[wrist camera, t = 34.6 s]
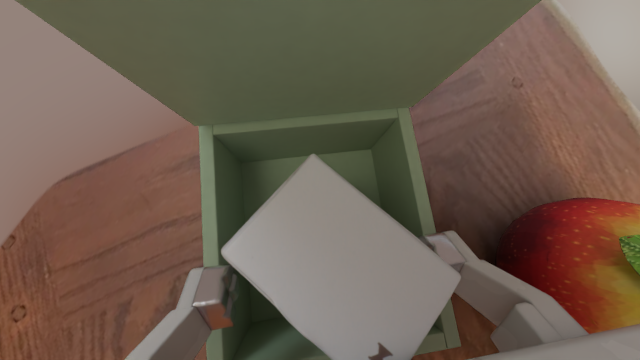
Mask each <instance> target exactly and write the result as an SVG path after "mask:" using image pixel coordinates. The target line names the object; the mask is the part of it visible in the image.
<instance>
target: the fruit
mask: <svg viewBox="0 0 640 360" xmlns="http://www.w3.org/2000/svg"><path fill="white" fill-rule="evenodd" d="M496 267H497V268H499V269H501V270H503V271H505V272H507V273H509V274H510V275H512V276H514V277H516V278H518V279H520V280H522V281H523V282H525V283H527V284H529V285H531V286H533V287H535V288H536V289H538V290H540V291H542V292H544V293H546V294H548V295H549V296H551V297H552V298H553V299H554V300H555V301H556V302H557V303H558V304H559V305H560V306H561V307H562V308H563V309H564V310H565V311H566V312H567V313H568V314H569V315H570V316H571V317H572V318H573V319H574V320H575V321H576V322H577V323H578V324H579V325H580V326H582V327H583V328H584V329H585V330H586V331H587V332H588V333H589V334H592V333H597V332H602V331H607V330H612V329H616V328H621V327H626V326H631V325H636V324H640V205H639V204H633V203H628V202H621V201H614V200H607V199H598V198H573V199H567V200H562V201H557V202H552V203H547V204H543V205H540V206H537V207H535V208H533V209H531V210H530V211H528V212H526V213H525V214H523V215H522V216H520V217H519V218H517V219H516V220H514V221H513V222H512V223H511V224H510V226H509V227H508V228H507V230H506V231H505V233H504V234H503V235H502V237H501V238H500V242H499V245H498V249H497V253H496Z"/></svg>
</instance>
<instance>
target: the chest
mask: <svg viewBox="0 0 640 360" xmlns="http://www.w3.org/2000/svg"><path fill="white" fill-rule="evenodd" d="M199 149H200V177H201V206H202V234H203V263H204V267H208V266H216V265H224V264H229V263H228V262H227V261H226V260H225V259H224V258H223V256H222V254H221V249H222V248H223V246H224V245H225V244H226V243H227V242H228V241H229V240H230V239H231V238H232V237H233V236H234V235H235V234H236V233H237V232H238V230H239V229H240V228H241V227H242V226H243V225H244V224H245V223H246V222H247V221H248V220H249V219H250V218H251V217H252V215H253V214H254V213H255V212H256V211H257V210H258V209H259V208H260V207H261V206H262V205H263V204H264V203H265V202H266V201H267V200H268V199H269V198H270V197H271V196H272V194H273V193H274V192H275V191H276V190H277V189H278V188H279V187H280V186H281V185H282V184H283V183H284V182H285V181H286V180H287V179H288V178H289V177H290V176H291V174H292V173H293V172H294V171H295V170H296V169H297V168H298V167H299V166H300V165H301V164H302V163H303V162H304V161H305V160H306V159H307V158H308V157H309V156H310V155H311V154H315V155H317V156H318V157H319V158H320V159H321V160H322V161H324V162H325V163H326V164H327V165H328V166H329V167H331V168H332V169H333V170H334V171H336V172H337V173H338V174H339V175H341V176H342V177H343V178H344V179H345V180H347V181H348V182H349V183H350V184H351V185H353V186H354V187H355V188H356V189H357V190H359V191H360V192H361V193H362V194H364V195H365V196H366V197H367V198H368V199H370V200H371V201H372V202H373V203H375V204H376V205H377V206H378V207H380V208H381V209H382V210H383V211H385V212H386V213H387V214H389V215H390V216H391V217H392V218H394V219H395V220H396V221H397V222H399V223H400V224H401V225H402V226H404V227H405V228H406V229H407V230H408V231H410V232H411V233H412V234H413V235H414V236H416V237H417V238H418V237H419V236H420V235H425V234H431V233H436V229H435V225H434V220H433V216H432V211H431V207H430V202H429V198H428V193H427V189H426V184H425V180H424V175H423V171H422V166H421V161H420V157H419V152H418V148H417V143H416V139H415V134H414V130H413V125H412V121H411V116H410V112H409V107H404V108H393V109H381V110H370V111H359V112H348V113H337V114H325V115H314V116H303V117H292V118H280V119H269V120H258V121H247V122H236V123H224V124H213V125H202V126H199ZM233 273H234V274H236V275H237V277H238V281H239V295H238V299H237V300H236V301H235V303H234V305H235V307H236V315H235V322H234V326H232V327H227V328H222V329H217V330H212V332H211V334H210V335H209V337H208V338H207V340H206V349H207V360H331V359H330V358H329V357H328V356H327V355H326V354H325V353H324V352H323V351H322V350H321V349H319V348H318V347H317V346H316V345H315V344H314V343H313V342H311V341H310V340H308V339H307V338H305V337H304V336H303V335H302V334H301V333H300V332H299V331H298V330H296V329H295V328H294V327H293V326H292V325H291V324H290V323H289V322H288V320H287V319H286V318H285V317H284V316H283V315H282V314H281V312H280V311H279V310H278V309H277V308H276V307H275V306H274V305H273V304H272V303H271V302H270V301H269V300H268V299H267V298H266V297H265V296H264V295H263V294H262V293H260V292H259V291H258V290H257V289H256V288H255V287H254V286H253V285H252V284H251V283H250V282H249V281H248V280H247V279H246V278H244V277H243V276H242V275H241V274H240V273H239V272H238V271H237V270H236V269H235V268H234V271H233ZM460 346H461V343H460V338H459V334H458V329H457V325H456V320H455V315H454V311H453V306H452V302H451V297H450V299H449V300H448V302H447V304H446V305H445V307H444V309H443V310H442V312H441V313H440V315H439V316H438V318H437V319H436V321H435V323H434V324H433V326H432V327H431V329H430V331H429V332H428V334H427V335H426V337H425V338H424V340H423V341H422V343H421V345H420V346H419V348H418V349H417V351H416V353H415V354H414V355H419V354H425V353H430V352H435V351H440V350H445V349H446V348H447V349H450V348H455V347H460Z"/></svg>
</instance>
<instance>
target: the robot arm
mask: <svg viewBox="0 0 640 360" xmlns="http://www.w3.org/2000/svg"><path fill="white" fill-rule="evenodd" d="M418 239H419V240H420V241H422V242H423V243H424V244H425V245H426V246H427V247H429V248H430V249H431V250H432V251H433V252H435V253H436V254H437V255H438V256H439V257H441V258H442V259H443V260H444V261H445V262H446V263H448V264H449V265H450V266H451V267H452V268H453V269H455V270H456V271H457V272H458V273H459V274H460V276H461V280H460V281H459V283H458V285H457V287H456V288H455V290H454V293H456V294H457V295H458V296H459V297H461V298H462V299H463V300H464V301H466V302H467V303H468V304H469V305H471V306H472V307H473V308H475V309H476V310H477V311H478V312H480V313H481V314H482V315H483V316H485V317H486V318H487V319H488V320H490V321H491V322H492V323H493V324H495V325H496V326H497V328H496V329H495V330H494V331H493V333H492V334H491V340H492V341H493V343H494V344H495V346H496V347H497V349H498V350H499V352H500V353H495V354H491V355H486V356H481V357H476V358H471V359H466V360H640V324H636V325H631V326H626V327H621V328H616V329H612V330H607V331H602V332H597V333H592V334H589V333H588V332H587V331H586V330H585V329H584V328H583V327H582V326H580V325H579V324H578V323H577V322H576V321H575V320H574V319H573V318H572V317H571V316H570V315H569V314H568V313H567V312H566V311H565V310H564V309H563V308H562V307H561V306H560V305H559V304H558V303H557V302H556V301H555V300H554V299H553V298H552V297H551V296H549V295H548V294H546V293H544V292H542V291H540V290H538V289H536V288H535V287H533V286H531V285H529V284H527V283H525V282H523V281H522V280H520V279H518V278H516V277H514V276H512V275H510V274H509V273H507V272H505V271H503V270H501V269H499V268H497V267H496V266H494V265H492V264H490V263H488V262H486V261H484V260H479V259H478V258H477V256H476V255H475V254H474V253H473V252H472V251H471V249H470V248H469V247H468V246H467V245H466V244H465V242H464V241H463V240H462V239H461V238H460V237H459V236H458V234H457V233H456V232H454V231H453V230H452V231H445V232H437V233H431V234H425V235H420V236H419V237H418ZM233 271H234V267H233V266H232V265H230V264H224V265H216V266H208V267H200V268H193V269H192V270H191V271H190V272H189V274H188V277H187V280H186V283H185V285H184V288H183V291H182V293H181V296H180V299H179V302H178V304H177V307H176V310H171V311H170V312H169V314H168V315H167V316H166V317H165V318H164V319H163V320H162V321H161V322H160V323H159V324H158V325H157V326H156V327H155V328H154V329H153V330H152V331H151V332H150V333H149V334H148V335H147V336H146V337H145V339H144V340H143V341H142V342H141V343H140V344H139V345H138V346H137V347H136V348H135V349H134V350H133V351H132V352H131V353H130V354H129V355H128V356H127V357H126V358H125V359H124V360H194V358H195V357H196V355H197V354H198V352H199V351H200V349H201V348H202V346H203V345H204V343H205V342H206V340H207V338H208V337H209V335H210V334H211V332H212V330H217V329H222V328H227V327H232V326H234V322H235V315H236V307H235V305H234V303H235V301H236V300H237V299H238V295H239V281H238V277H237V275H236V274H234V273H233Z"/></svg>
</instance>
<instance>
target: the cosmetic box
mask: <svg viewBox="0 0 640 360" xmlns="http://www.w3.org/2000/svg"><path fill="white" fill-rule="evenodd" d="M221 254H222V256H223V258H224V259H225V260H226V261H227V262H228V263H229V264H230V265H232V266H233V267H234V268H235V269H236V270H237V271H238V272H239V273H240V274H241V275H242V276H243V277H244V278H246V279H247V280H248V281H249V282H250V283H251V284H252V285H253V286H254V287H255V288H256V289H257V290H258V291H259V292H260V293H262V294H263V295H264V296H265V297H266V298H267V299H268V300H269V301H270V302H271V303H272V304H273V305H274V306H275V307H276V308H277V309H278V310H279V311H280V312H281V314H282V315H283V316H284V317H285V318H286V319H287V320H288V322H289V323H290V324H291V325H292V326H293V327H294V328H295V329H296V330H298V331H299V332H300V333H301V334H302V335H303V336H304V337H305V338H307V339H308V340H310V341H311V342H313V343H314V344H315V345H316V346H317V347H318V348H319V349H321V350H322V351H323V352H324V353H325V354H326V355H327V356H328V357H329V358H330V359H331V360H411V359H412V357H413V356H414V354H415V353H416V351H417V349H418V348H419V346H420V345H421V343H422V341H423V340H424V338H425V337H426V335H427V334H428V332H429V331H430V329H431V327H432V326H433V324H434V323H435V321H436V319H437V318H438V316H439V315H440V313H441V312H442V310H443V309H444V307H445V305H446V304H447V302H448V300H449V299H450V297H451V295H452V294H453V292H454V290H455V288H456V287H457V285H458V283H459V281H460V280H461V276H460V274H459V273H458V272H457V271H456V270H455V269H453V268H452V267H451V266H450V265H449V264H448V263H446V262H445V261H444V260H443V259H442V258H441V257H439V256H438V255H437V254H436V253H435V252H433V251H432V250H431V249H430V248H429V247H427V246H426V245H425V244H424V243H423V242H422V241H420V240H419V239H418V238H417V237H416V236H414V235H413V234H412V233H411V232H410V231H408V230H407V229H406V228H405V227H404V226H402V225H401V224H400V223H399V222H397V221H396V220H395V219H394V218H392V217H391V216H390V215H389V214H387V213H386V212H385V211H383V210H382V209H381V208H380V207H378V206H377V205H376V204H375V203H373V202H372V201H371V200H370V199H368V198H367V197H366V196H365V195H364V194H362V193H361V192H360V191H359V190H357V189H356V188H355V187H354V186H353V185H351V184H350V183H349V182H348V181H347V180H345V179H344V178H343V177H342V176H341V175H339V174H338V173H337V172H336V171H334V170H333V169H332V168H331V167H329V166H328V165H327V164H326V163H325V162H324V161H322V160H321V159H320V158H319V157H318V156H317V155H315V154H311V155H310V156H309V157H308V158H307V159H306V160H305V161H304V162H303V163H302V164H301V165H300V166H299V167H298V168H297V169H296V170H295V171H294V172H293V173H292V174H291V176H290V177H289V178H288V179H287V180H286V181H285V182H284V183H283V184H282V185H281V186H280V187H279V188H278V189H277V190H276V191H275V192H274V193H273V194H272V196H271V197H270V198H269V199H268V200H267V201H266V202H265V203H264V204H263V205H262V206H261V207H260V208H259V209H258V210H257V211H256V212H255V213H254V214H253V215H252V217H251V218H250V219H249V220H248V221H247V222H246V223H245V224H244V225H243V226H242V227H241V228H240V229H239V230H238V232H237V233H236V234H235V235H234V236H233V237H232V238H231V239H230V240H229V241H228V242H227V243H226V244H225V245H224V246H223V248H222V249H221Z"/></svg>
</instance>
